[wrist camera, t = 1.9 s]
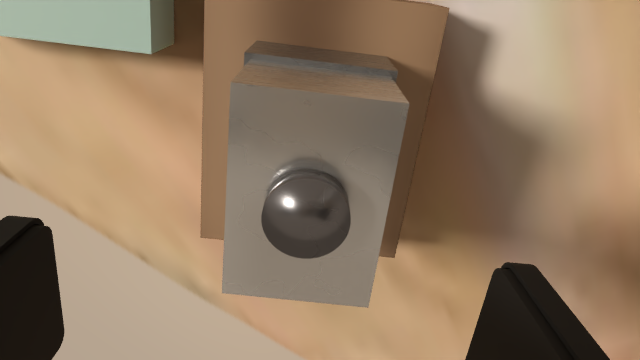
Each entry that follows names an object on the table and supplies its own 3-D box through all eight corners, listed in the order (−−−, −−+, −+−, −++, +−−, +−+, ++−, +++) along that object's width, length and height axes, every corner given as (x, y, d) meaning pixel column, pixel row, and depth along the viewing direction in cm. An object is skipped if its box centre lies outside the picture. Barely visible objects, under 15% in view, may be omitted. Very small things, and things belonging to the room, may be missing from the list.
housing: (386, 56, 18) (425, 104, 11) (358, 215, 21) (376, 331, 14) (256, 40, 17) (216, 79, 11) (246, 203, 20) (209, 314, 14)
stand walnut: (431, 3, 20) (449, 8, 17) (386, 226, 24) (394, 257, 21) (221, -24, 19) (205, -24, 17) (214, 207, 24) (200, 237, 21)
